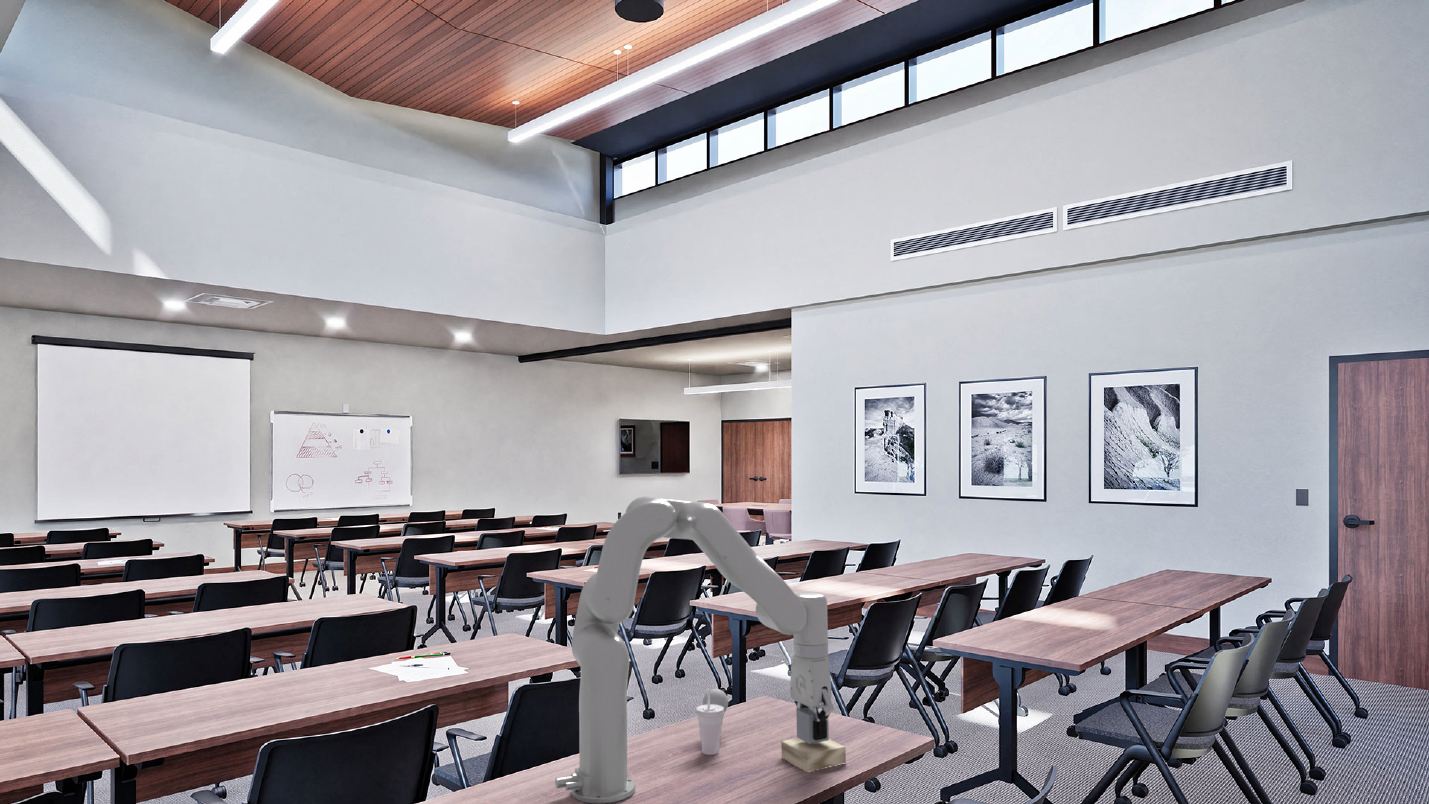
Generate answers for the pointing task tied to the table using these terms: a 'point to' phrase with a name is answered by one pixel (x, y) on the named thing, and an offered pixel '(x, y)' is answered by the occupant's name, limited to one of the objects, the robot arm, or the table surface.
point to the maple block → (813, 754)
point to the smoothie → (710, 726)
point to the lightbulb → (717, 699)
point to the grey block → (807, 725)
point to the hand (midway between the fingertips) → (812, 734)
